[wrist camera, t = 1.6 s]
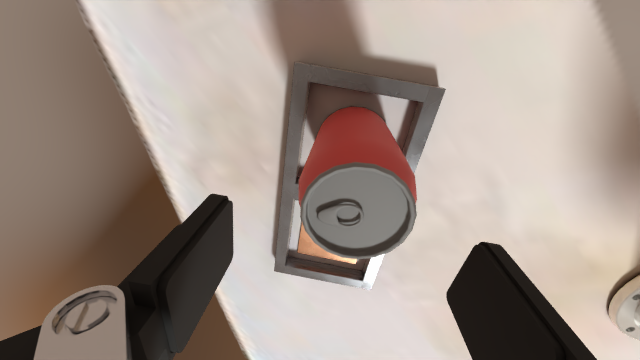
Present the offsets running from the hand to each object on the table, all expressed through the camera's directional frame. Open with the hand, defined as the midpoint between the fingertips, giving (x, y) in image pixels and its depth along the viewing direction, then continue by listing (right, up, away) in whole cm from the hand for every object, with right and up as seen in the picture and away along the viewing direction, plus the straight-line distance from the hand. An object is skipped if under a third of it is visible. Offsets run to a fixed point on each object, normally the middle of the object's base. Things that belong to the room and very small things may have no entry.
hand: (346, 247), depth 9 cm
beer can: (+2, +6, +13) cm, 15 cm away
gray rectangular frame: (+1, +1, +15) cm, 15 cm away
